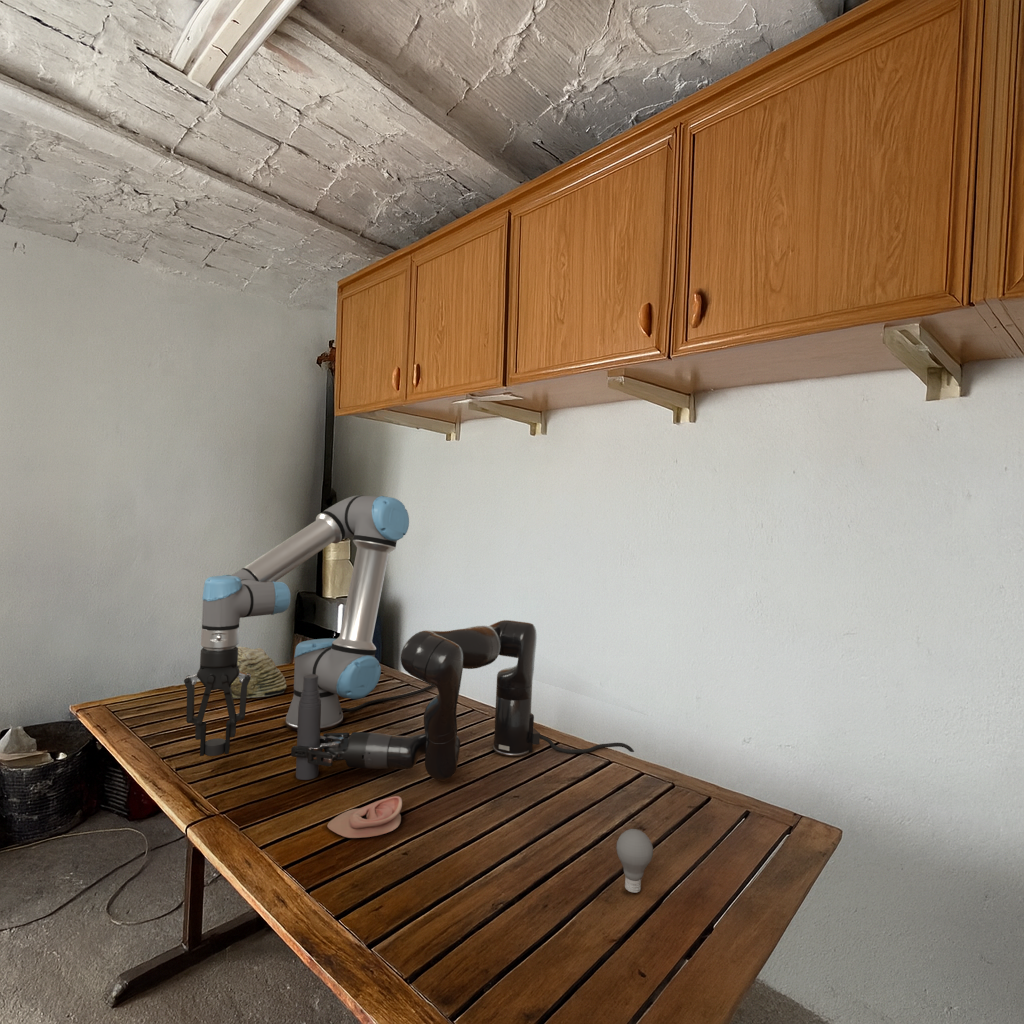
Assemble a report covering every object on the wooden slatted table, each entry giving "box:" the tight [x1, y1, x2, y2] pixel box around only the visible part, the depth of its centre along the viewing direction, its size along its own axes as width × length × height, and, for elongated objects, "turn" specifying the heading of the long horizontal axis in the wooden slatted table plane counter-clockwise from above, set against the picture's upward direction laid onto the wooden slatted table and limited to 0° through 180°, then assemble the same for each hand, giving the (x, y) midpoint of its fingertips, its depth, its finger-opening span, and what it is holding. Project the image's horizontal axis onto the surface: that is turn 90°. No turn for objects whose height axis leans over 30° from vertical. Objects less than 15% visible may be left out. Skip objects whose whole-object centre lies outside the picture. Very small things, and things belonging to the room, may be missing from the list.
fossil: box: [231, 646, 288, 699], centre depth 198 cm, size 9×18×15 cm, turn 132°
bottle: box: [295, 674, 321, 781], centre depth 143 cm, size 5×5×23 cm
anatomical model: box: [327, 795, 403, 839], centre depth 123 cm, size 13×4×12 cm
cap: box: [204, 737, 226, 757], centre depth 139 cm, size 4×4×2 cm
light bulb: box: [615, 828, 654, 894], centre depth 106 cm, size 6×6×10 cm
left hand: (214, 752), depth 140 cm, fingers closed on cap, 4 cm apart
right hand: (296, 746), depth 144 cm, fingers closed on bottle, 5 cm apart
